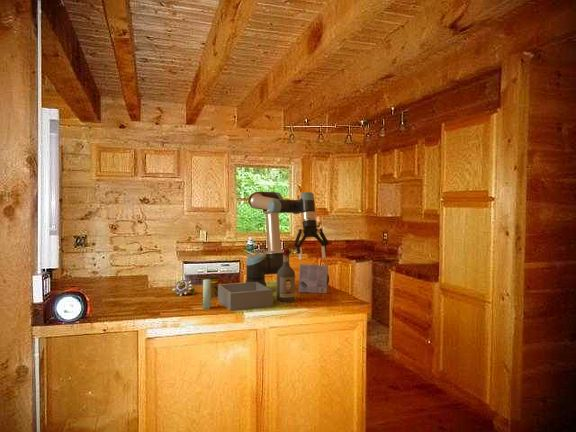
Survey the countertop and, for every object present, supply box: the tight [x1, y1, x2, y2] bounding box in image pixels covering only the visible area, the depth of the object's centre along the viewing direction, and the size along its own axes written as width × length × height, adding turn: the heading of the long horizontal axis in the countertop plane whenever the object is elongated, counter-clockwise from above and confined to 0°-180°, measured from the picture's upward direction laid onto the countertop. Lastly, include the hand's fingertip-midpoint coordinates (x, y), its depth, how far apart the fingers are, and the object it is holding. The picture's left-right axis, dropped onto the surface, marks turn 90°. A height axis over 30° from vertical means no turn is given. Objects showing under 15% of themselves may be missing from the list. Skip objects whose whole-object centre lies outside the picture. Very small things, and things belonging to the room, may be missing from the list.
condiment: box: [208, 275, 219, 299], centre depth 236 cm, size 7×8×12 cm
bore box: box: [217, 282, 274, 312], centre depth 221 cm, size 24×24×9 cm
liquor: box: [276, 248, 296, 303], centre depth 228 cm, size 9×9×30 cm
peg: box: [202, 278, 212, 310], centre depth 210 cm, size 4×4×15 cm
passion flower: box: [171, 277, 196, 297], centre depth 240 cm, size 11×11×12 cm
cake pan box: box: [298, 263, 330, 294], centre depth 252 cm, size 19×5×18 cm, turn 84°
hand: (312, 258), depth 214 cm, fingers open, 13 cm apart
